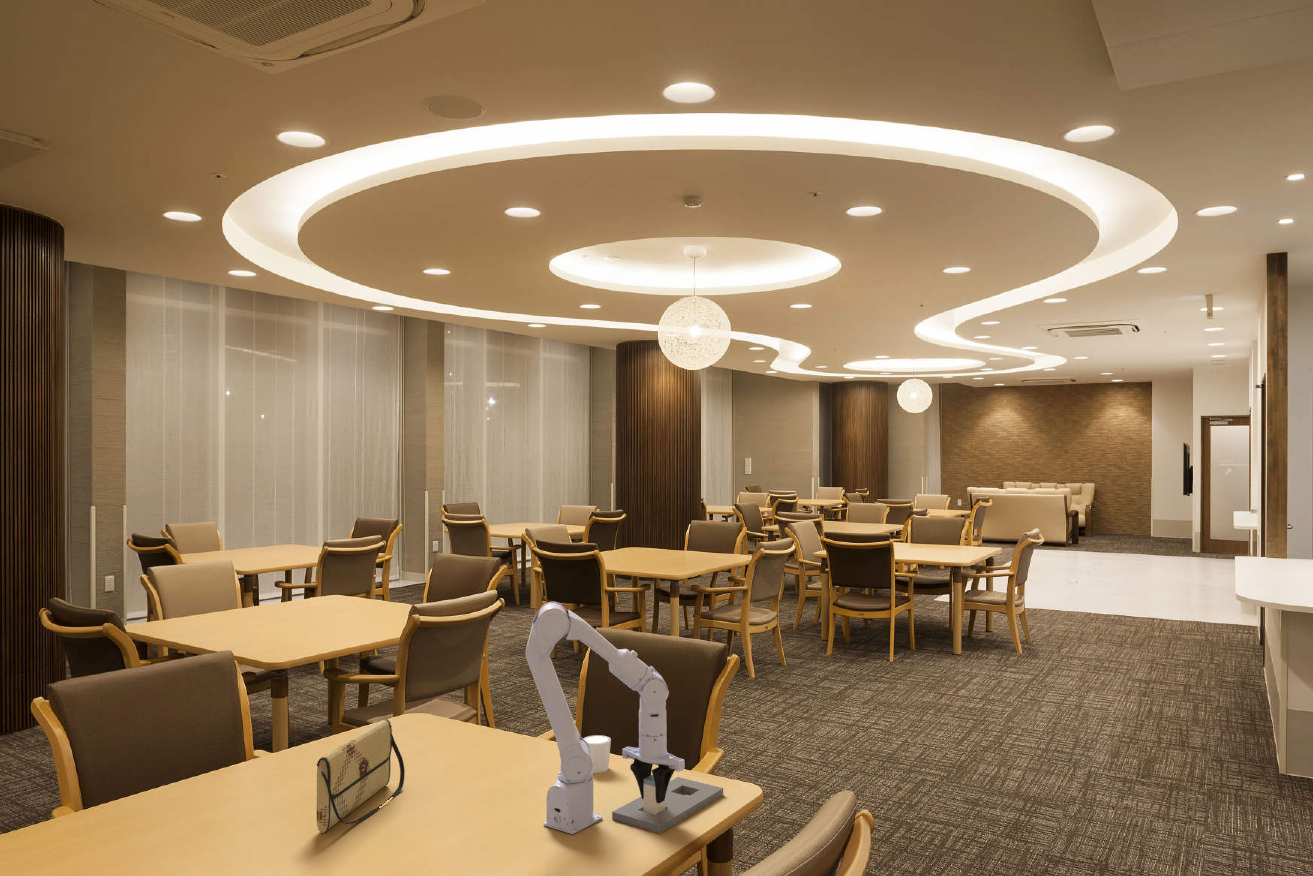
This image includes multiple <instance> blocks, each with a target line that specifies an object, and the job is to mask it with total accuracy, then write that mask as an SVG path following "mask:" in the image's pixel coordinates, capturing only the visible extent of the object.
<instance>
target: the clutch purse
mask: <svg viewBox="0 0 1313 876" xmlns="http://www.w3.org/2000/svg"><path fill="white" fill-rule="evenodd" d="M392 727H393V725H391V721H390V720H389V719H387V718H385V719H383V720H381V721H380V722H378V723H377V724H375V725H374V726H372V727H370V728H368V729H367V730H365V731H364V732H362V733H360V734H359V735H357V736H355V737H353V738H352V739H350V740H349V741H347V742H345V743H344V744H342V745H340V746H339V747H337V748H335V749H333V750H332V751H331V752H329V753H327V754H326V755H324V756H322V757H321V758H319V759H318V761H317V763H316V766H317V768H316V769H317V770H316V824H317V826H316V827H317V829H318V831H319V832H320V833H321V834H325V833H327V831H328V830H329V829H331V828H332V827H333V826H334V825H336V824H337V823H339V822H340V823H342V824H344V825H355V824H357V823H359V822H362V821H364V820H365V819H367V818H368V817H370V816H373V814H375V813H376V812H378V811H379V810H378V809H380V808H379V806H382V803H381V804H380V805H378V806H377V807H376V808H374V809H372V810H370V811H369V812H367V813H366V814H364V815H362V816H360V817H359V818H356V819H355V820H352V821H347V822H345V821H344V820H343V819H344V818H345V817H346V816H348V815H349V814H350V813H352V812H353V811H355V810H356V809H357V808H358V807H360V806H361V805H362V804H364V803H365V802H366V801H367V800H369V799H370V798H371V797H372V796H374V795H375V794H377V793H378V792H379V791H380V790H382V789H383V788H384V787H386V786H385V785H387V786H388V784H389V782H390V779H391V756H392V750H393V751H394V753H395V755H396V758H397V761H398V765H399V774H400V776H399V783H398V787H397V788H396V789H395V791H394V792H393V793H392V794H391V795H390V796H389V797H388V798H387V799H386V800H385V801H387V800H389V799H390V798H391V797H394V798H395V797H397V795H398V794H399V793H400V792H401V790H402V789H403V787H404V783H405V770H406V769H405V765H404V759H403V757H402V755H401V752H400V750H399V747H398V745H397V744H396V740H395V738H394V736H393V735H394V734H393V729H392ZM385 801H383V803H385ZM377 810H378V811H377ZM380 810H381V809H380Z"/></svg>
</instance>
